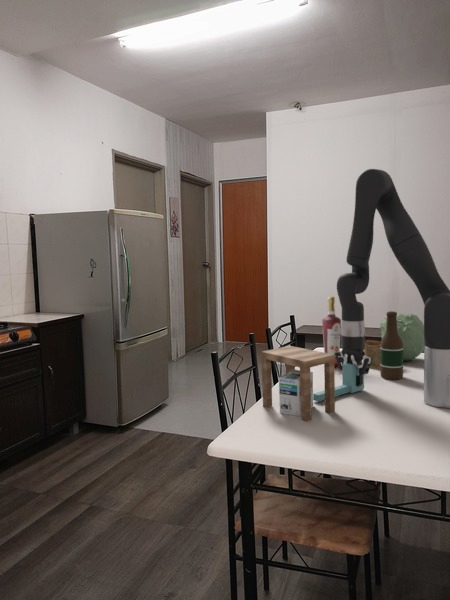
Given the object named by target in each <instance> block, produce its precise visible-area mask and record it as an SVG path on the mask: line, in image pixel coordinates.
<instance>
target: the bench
mask: <svg viewBox="0 0 450 600" xmlns="http://www.w3.org/2000/svg"><path fill="white" fill-rule="evenodd" d="M272 362H277V363H281V364H284V365H285V374H286V373H288V372H290V371H292V370H293V369H294V370H296V368H299V370H300V401H301V416H300V421H303V422H310V421H312V407H311V382H310V372H311V368H313V367H318V366H321V365H324V366H323V367H324V369H323V370H324V371H323V372H324V390H325V400H324V412H325V413H328V414H333V413H335V412H336V402H335V401H336V399H335V398H336V396H335V387H336V386H335V385H336V384H335V383H336V382H335V379H336V377H335V367H334V354H329V353H324V351H318V350H313V349H309V348H308V349H307V348H302V347H299V346H293V345H287V346H281V347H277V348H273V349H267V350H263V351H261V379H262V380H261V381H262V383H261V385H262V388H261V389H262V407H264V408H267V409H268V408H271V407H273V389H272V388H273V387H272V384H273V383H272V382H273V381H272V379H273V378H272Z"/></svg>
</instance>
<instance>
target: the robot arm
mask: <svg viewBox="0 0 450 600" xmlns="http://www.w3.org/2000/svg"><path fill="white" fill-rule="evenodd" d="M354 197H355V200H354V202H355V203H354V212H353V214H354V215H353V223H352V231H351V235H350V239H349V240H350V241H349V244H348V249H347V253H346V263H347V265H349V266H351V272H346V273H342V274H341V275H339V277H338V278H337V281H336V293H337V295H338V300H339V303H340V306H341V333H340V348H342V349H341V350H340V352H336V353H335V356H336V360H337V364H338V366H337V368H338V369H339V370H341V371H342V364H343V363H350V364H353V365H355V369H356V386H357V387H359V386H362V384H363V375H364V376H365V375H367V374H369V372H370V366H371V362H372V357H367V356H366V355H365V353H364V348H365V341H366V340H365V339H366V327H365V308H364V307H365V306H364V304H363V303H362V302H360V301H358V299H357V296H356V295H358V294H359V295H360V294H362V293H364V292H365V291H366V290H367V289H368V287H369V284H370V264H369V263H370V259H371V258H370V257H371V254H372V249H373V244H374V223H375V222H374V221H375V215H376V211H377V213H378V215H379V216H380V218H381V220H382V223H383V228H384V232H385V236H386V240H387V244H388V245H389V248H390V249H391V251H392V253H393V255H394V257H395V258H396V260H397V262H398V263H399V265H400V266H401V267H402V269H403V271H404V272H405V273H406V275H408V277H410V279H411V280H412V282H413V283H414V285H415V287H416V288H417V291H418V293H419V295H420V297H421V299H422V302H423V305H424V308H423V325H424V350H423V352H424V353H423V354H424V355H423V356H424V357H423V402H424V403H425V404H426V405H429V406H432V407H437V408H438V407H439V408H447V409H450V289H449V287H448V285H447V284H446V283H445V281H444V280H443V278H442V277H441V275H440V274H439V271H438V269H437V266H436V263H435V262H434V259H433V258H434V257H433V256H432V254H431V252H430V249H429V247H428V245H427V243H426V241H425V240H424V237H423V235H422V234H421V232H420V231H419V229H418V227H417V226H416V224H415V223H414V221H413V219H412V217H411V216H410V214H409V213H408V211H407V209H406V208H405V207H404V204H403V202H402V201H401V198H400V195H399V193H398V190H397V188H396V186H395V184H394V181H393V179H392V177H391V175H390V174H389V173H388V172H387V171H385V170H383V169H380V168H379V169H378V168H377V169H376V168H369V169H366V170H364V171H362V172H361V173H360V174H359V176H357V179H356V183H355V196H354ZM363 362H364V363H363ZM360 363H361V364H360ZM357 364H360V365H359V366H358V365H357ZM359 368H360V371H359Z"/></svg>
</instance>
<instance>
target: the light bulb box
mask: <svg viewBox="0 0 450 600" xmlns="http://www.w3.org/2000/svg"><path fill="white" fill-rule="evenodd" d="M310 382H311V408H313V407H314V400H313V394H314V372H313V371H310ZM278 386H279V387H278V389H279V393H278V394H279V396H278V397H279V413H281V414H286V415H291V416H297V417H301V401H300V369H295V370H294V369H293V370H292V371H290V372H288V373H286V372H285V373H284V374H283V375H281V376H279V377H278Z"/></svg>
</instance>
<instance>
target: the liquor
mask: <svg viewBox="0 0 450 600" xmlns="http://www.w3.org/2000/svg"><path fill="white" fill-rule="evenodd" d="M335 300H336V297H335V296H328V297H327V303H328V304H327V305H328V308H327V309H328V310H327V316H325V317H324V318H323V319H321V321H322V336H323V337H322V338H323V352H324V353H329V354H334V368H338V364H337V360H336V356H335V353H336V352H340V351H341V324H342V318H341V319H340V317H338V316H336V309H335V302H336V301H335Z"/></svg>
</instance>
